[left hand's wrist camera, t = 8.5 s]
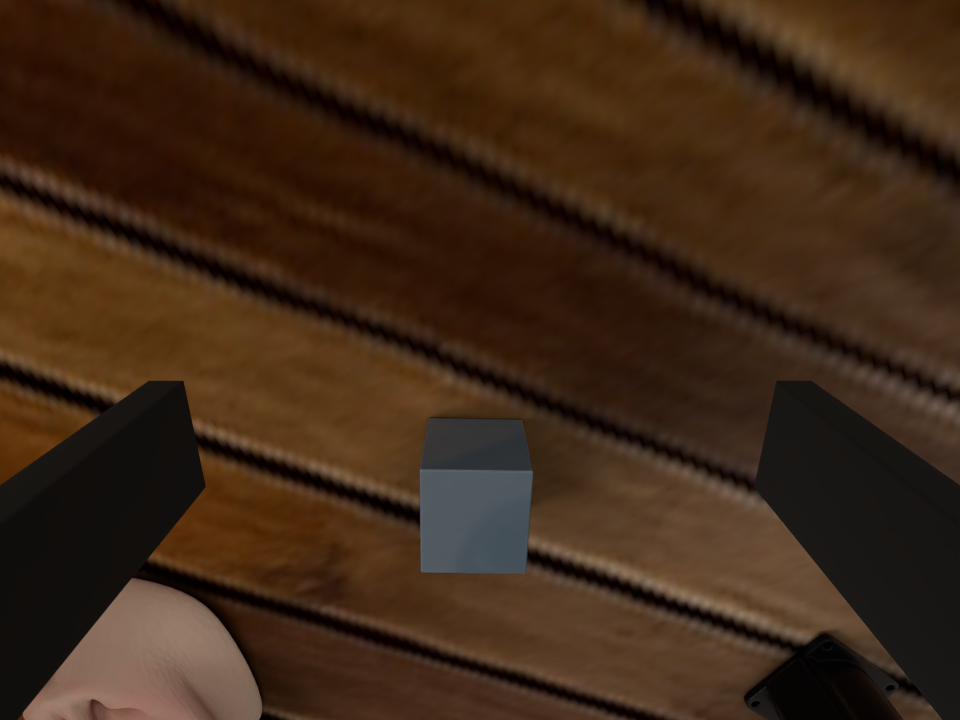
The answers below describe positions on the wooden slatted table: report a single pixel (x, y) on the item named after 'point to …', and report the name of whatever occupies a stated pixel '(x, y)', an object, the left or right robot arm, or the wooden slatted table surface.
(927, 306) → the wooden slatted table surface
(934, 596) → the left robot arm
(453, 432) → the block
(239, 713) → the anatomical model
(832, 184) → the wooden slatted table surface
